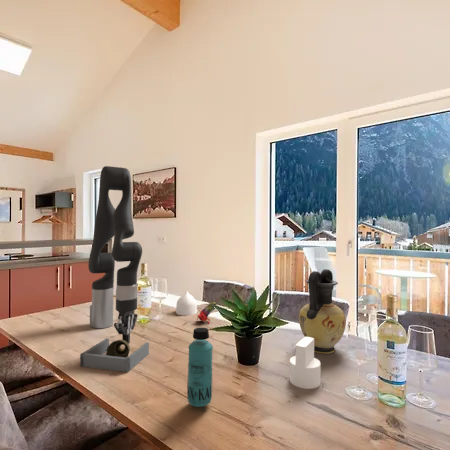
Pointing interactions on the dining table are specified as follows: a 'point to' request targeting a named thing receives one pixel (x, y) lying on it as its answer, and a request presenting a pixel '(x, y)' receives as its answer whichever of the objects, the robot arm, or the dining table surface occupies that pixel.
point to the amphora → (322, 313)
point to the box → (111, 358)
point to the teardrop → (186, 305)
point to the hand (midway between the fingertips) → (126, 343)
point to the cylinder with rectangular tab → (305, 365)
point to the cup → (118, 349)
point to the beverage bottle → (200, 369)
